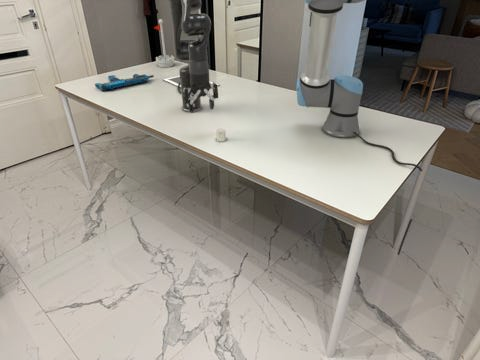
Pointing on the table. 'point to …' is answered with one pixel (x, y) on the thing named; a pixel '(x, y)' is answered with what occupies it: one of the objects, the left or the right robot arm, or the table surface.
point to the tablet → (176, 81)
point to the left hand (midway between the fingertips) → (201, 110)
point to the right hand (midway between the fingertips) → (316, 28)
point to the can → (221, 134)
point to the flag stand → (165, 60)
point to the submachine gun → (122, 81)
